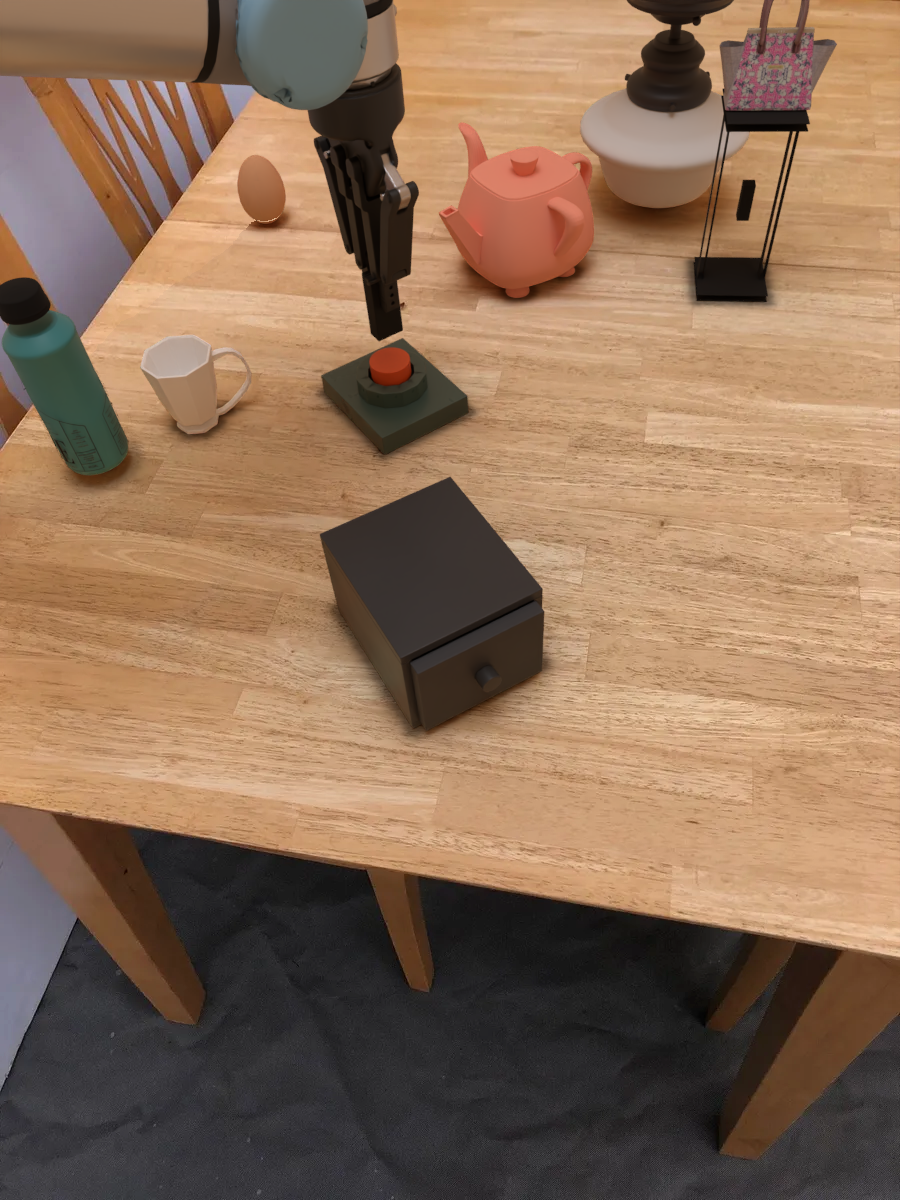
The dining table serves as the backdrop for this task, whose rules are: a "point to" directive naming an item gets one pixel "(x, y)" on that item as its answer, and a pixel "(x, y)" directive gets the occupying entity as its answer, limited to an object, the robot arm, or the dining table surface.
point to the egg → (261, 189)
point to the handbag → (761, 104)
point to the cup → (189, 380)
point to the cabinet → (421, 579)
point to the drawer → (478, 664)
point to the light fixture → (663, 116)
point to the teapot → (522, 214)
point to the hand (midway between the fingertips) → (386, 332)
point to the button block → (395, 399)
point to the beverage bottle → (60, 379)
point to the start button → (390, 366)
